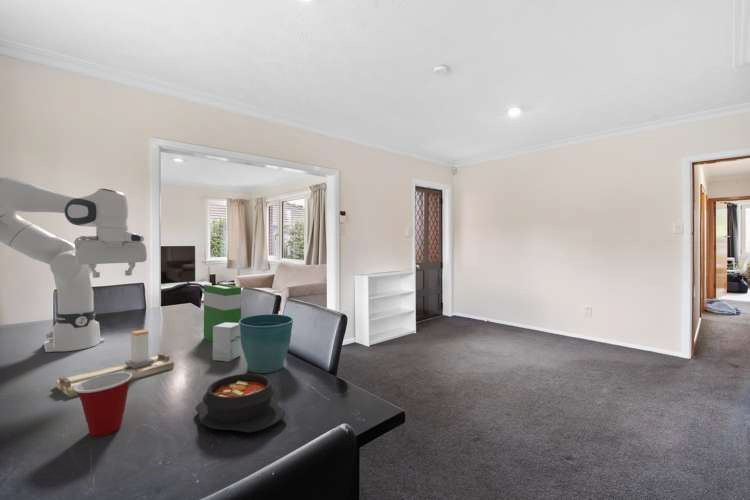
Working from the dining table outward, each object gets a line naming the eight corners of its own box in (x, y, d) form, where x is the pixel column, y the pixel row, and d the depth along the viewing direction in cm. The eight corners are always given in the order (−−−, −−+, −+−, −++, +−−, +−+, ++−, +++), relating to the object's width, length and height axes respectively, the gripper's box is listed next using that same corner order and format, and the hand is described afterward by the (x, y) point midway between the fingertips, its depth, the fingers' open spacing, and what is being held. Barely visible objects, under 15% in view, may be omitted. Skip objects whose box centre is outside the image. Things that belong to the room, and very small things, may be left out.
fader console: (56, 386, 105) (55, 374, 105) (156, 360, 128) (156, 351, 128) (70, 397, 98) (69, 384, 98) (173, 368, 121) (173, 357, 121)
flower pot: (302, 362, 129) (302, 316, 128) (272, 381, 112) (273, 328, 111) (261, 356, 135) (261, 312, 134) (226, 373, 118) (227, 322, 117)
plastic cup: (96, 418, 87) (96, 370, 87) (142, 417, 88) (142, 370, 88) (61, 444, 76) (60, 389, 76) (114, 442, 77) (113, 388, 77)
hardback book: (203, 338, 157) (203, 284, 157) (219, 334, 163) (219, 283, 162) (224, 346, 146) (224, 288, 146) (240, 342, 152) (241, 287, 152)
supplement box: (230, 361, 128) (230, 327, 128) (211, 360, 130) (212, 326, 129) (241, 355, 135) (241, 322, 135) (224, 353, 137) (224, 321, 137)
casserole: (302, 415, 91) (302, 383, 90) (240, 452, 75) (240, 413, 75) (239, 392, 104) (239, 363, 104) (175, 418, 88) (175, 385, 88)
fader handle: (125, 364, 117) (125, 331, 117) (145, 359, 122) (145, 328, 122) (133, 368, 114) (133, 334, 113) (153, 363, 119) (153, 331, 118)
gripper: (77, 236, 111) (78, 279, 111) (148, 237, 128) (148, 274, 128) (71, 235, 114) (71, 278, 115) (140, 236, 131) (140, 273, 132)
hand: (112, 276), depth 122 cm, fingers open, 8 cm apart
